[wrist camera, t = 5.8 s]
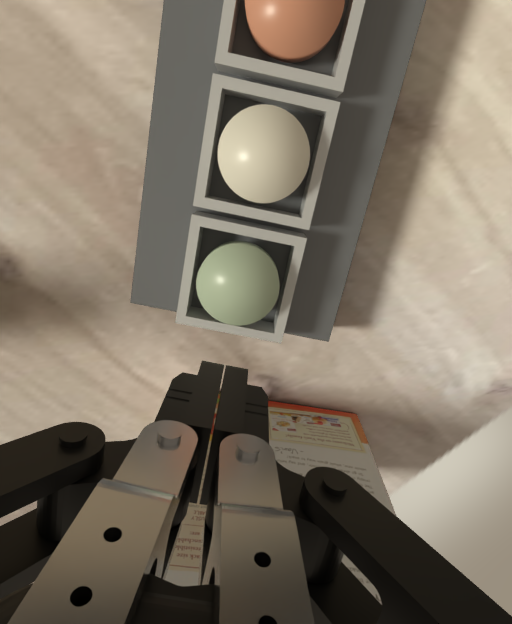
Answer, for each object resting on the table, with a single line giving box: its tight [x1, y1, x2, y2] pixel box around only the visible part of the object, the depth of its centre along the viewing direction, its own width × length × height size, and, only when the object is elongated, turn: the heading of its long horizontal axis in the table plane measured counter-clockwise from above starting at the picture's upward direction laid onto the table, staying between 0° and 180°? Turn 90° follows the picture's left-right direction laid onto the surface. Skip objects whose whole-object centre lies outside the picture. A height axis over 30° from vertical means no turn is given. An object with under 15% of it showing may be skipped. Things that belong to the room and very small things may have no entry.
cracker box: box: [165, 393, 396, 605], centre depth 25 cm, size 14×6×21 cm, turn 80°
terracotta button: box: [245, 0, 345, 63], centre depth 21 cm, size 5×5×2 cm
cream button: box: [218, 104, 310, 203], centre depth 23 cm, size 5×5×2 cm
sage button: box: [196, 241, 280, 326], centre depth 26 cm, size 5×5×2 cm
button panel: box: [131, 0, 426, 343], centre depth 26 cm, size 22×14×5 cm, turn 168°
